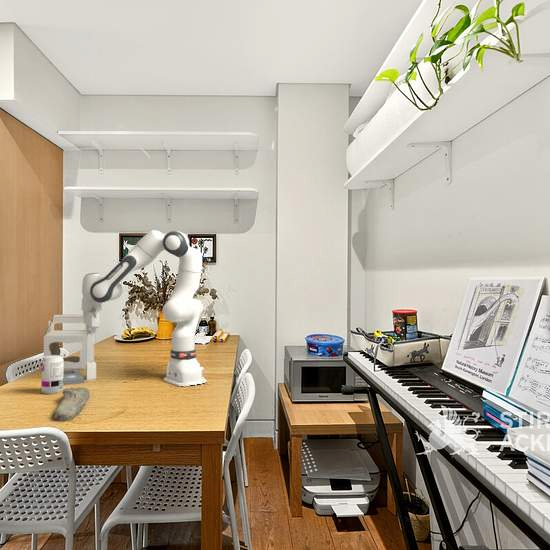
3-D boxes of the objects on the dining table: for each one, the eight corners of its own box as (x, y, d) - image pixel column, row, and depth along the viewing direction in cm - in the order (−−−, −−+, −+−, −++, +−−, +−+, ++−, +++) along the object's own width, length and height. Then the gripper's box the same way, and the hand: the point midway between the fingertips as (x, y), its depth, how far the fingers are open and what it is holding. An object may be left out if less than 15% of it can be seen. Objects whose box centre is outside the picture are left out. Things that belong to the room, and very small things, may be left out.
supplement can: (39, 395, 176) (39, 359, 176) (44, 389, 184) (44, 355, 184) (60, 393, 178) (61, 358, 178) (64, 388, 186) (65, 354, 186)
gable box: (42, 369, 221) (43, 315, 221) (52, 364, 234) (52, 313, 234) (87, 368, 224) (88, 315, 224) (94, 363, 237) (95, 313, 237)
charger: (96, 378, 204) (96, 363, 204) (87, 379, 202) (87, 363, 201) (94, 377, 207) (94, 361, 207) (85, 378, 205) (85, 362, 205)
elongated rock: (47, 427, 145) (78, 426, 147) (47, 412, 144) (79, 411, 147) (67, 393, 178) (92, 392, 181) (67, 380, 178) (93, 380, 181)
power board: (84, 382, 196) (84, 377, 196) (60, 385, 191) (60, 380, 191) (76, 372, 215) (76, 368, 215) (54, 375, 209) (54, 370, 209)
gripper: (103, 308, 197) (102, 337, 197) (94, 304, 214) (94, 332, 214) (88, 308, 194) (88, 338, 194) (81, 305, 211) (80, 333, 211)
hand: (91, 335), depth 204 cm, fingers open, 8 cm apart
